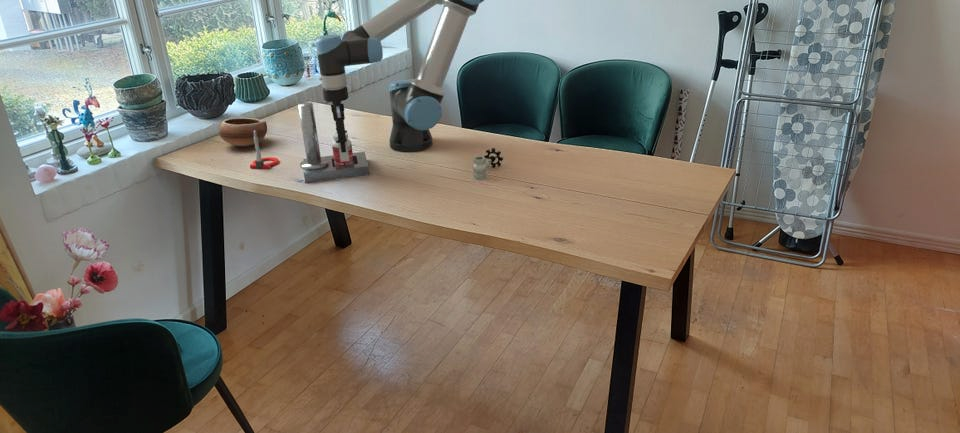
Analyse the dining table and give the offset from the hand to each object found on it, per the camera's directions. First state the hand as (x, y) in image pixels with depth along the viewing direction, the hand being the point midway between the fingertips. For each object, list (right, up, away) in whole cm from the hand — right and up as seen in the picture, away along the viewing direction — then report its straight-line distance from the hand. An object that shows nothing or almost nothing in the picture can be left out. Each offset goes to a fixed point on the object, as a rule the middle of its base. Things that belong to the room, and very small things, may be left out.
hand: (344, 157), depth 220 cm
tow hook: (-29, -2, +10) cm, 30 cm away
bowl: (-42, +7, +29) cm, 51 cm away
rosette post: (-3, -4, +1) cm, 6 cm away
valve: (+46, -6, -6) cm, 46 cm away
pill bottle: (0, -3, +2) cm, 3 cm away
